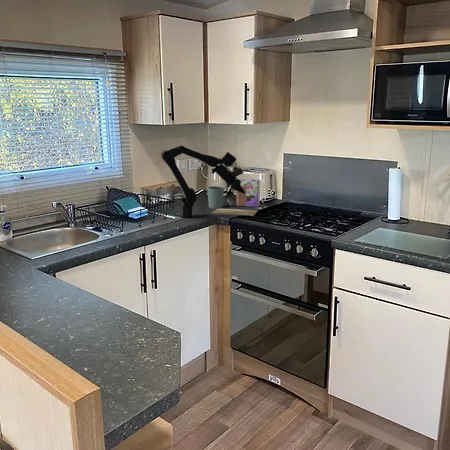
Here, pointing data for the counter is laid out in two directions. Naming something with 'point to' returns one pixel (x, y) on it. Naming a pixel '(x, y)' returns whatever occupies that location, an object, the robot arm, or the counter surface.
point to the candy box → (251, 192)
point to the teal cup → (215, 196)
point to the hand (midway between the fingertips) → (243, 192)
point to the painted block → (241, 197)
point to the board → (235, 212)
